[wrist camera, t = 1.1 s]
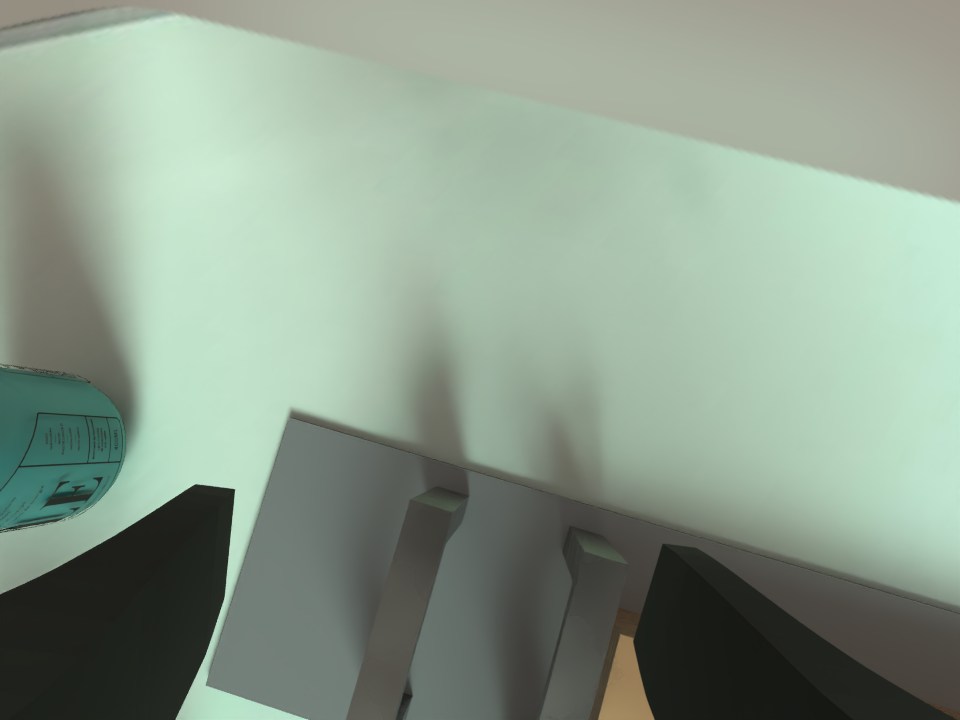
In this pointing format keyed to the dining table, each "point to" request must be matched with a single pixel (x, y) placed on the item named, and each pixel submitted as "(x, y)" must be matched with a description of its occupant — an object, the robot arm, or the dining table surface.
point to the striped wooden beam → (635, 677)
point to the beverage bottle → (54, 447)
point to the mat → (488, 590)
